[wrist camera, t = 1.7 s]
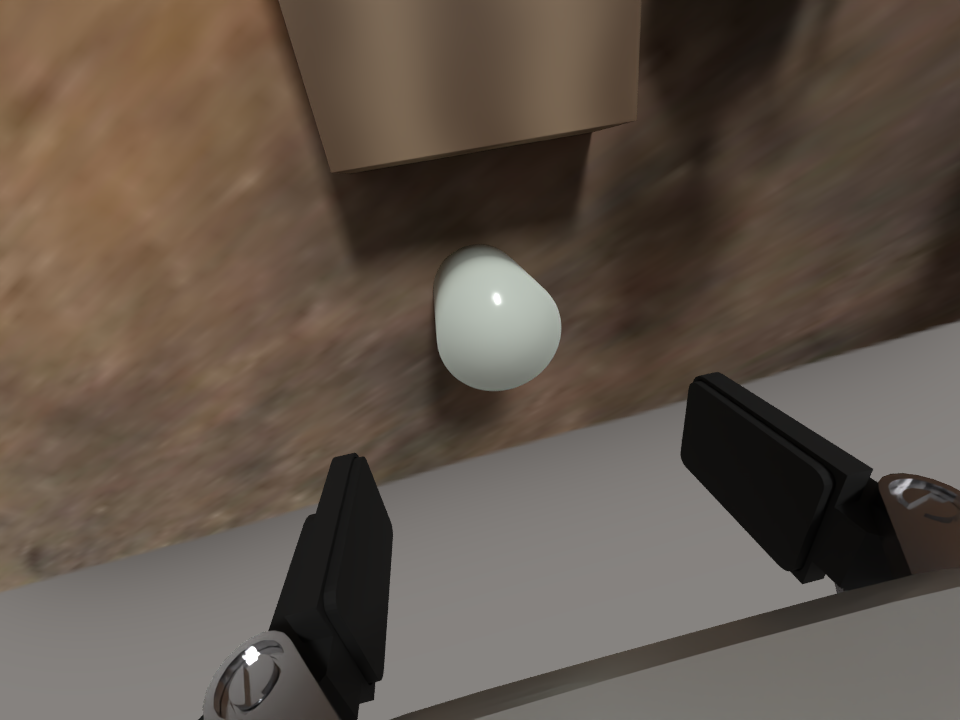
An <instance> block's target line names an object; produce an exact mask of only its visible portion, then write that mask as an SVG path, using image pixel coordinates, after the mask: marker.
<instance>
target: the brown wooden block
mask: <svg viewBox="0 0 960 720" xmlns="http://www.w3.org/2000/svg"><path fill="white" fill-rule="evenodd" d="M278 1H279V4H280V7H281V11H282V14H283V17H284V20H285V24H286V27H287V30H288V33H289V37H290V40H291V43H292V46H293V50H294V53H295V56H296V60H297V63H298V66H299V69H300V73H301V76H302V79H303V82H304V86H305V89H306V92H307V95H308V99H309V102H310V105H311V109H312V112H313V115H314V118H315V122H316V125H317V128H318V131H319V135H320V138H321V141H322V144H323V148H324V151H325V154H326V157H327V161H328V164H329V167H330V171H331V173H348V174H352V173H358V172H364V171H370V170H376V169H381V168H387V167H393V166H399V165H405V164H411V163H416V162H422V161H428V160H434V159H440V158H445V157H451V156H457V155H463V154H469V153H474V152H480V151H486V150H492V149H498V148H504V147H509V146H515V145H521V144H527V143H533V142H538V141H544V140H550V139H556V138H562V137H568V136H573V135H579V134H585V133H591V132H595V131H599V130H602V129H606V128H610V127H614V126H617V125H621V124H625V123H629V122H632V121H636V120H637V100H638V74H639V48H640V22H641V0H278Z"/></svg>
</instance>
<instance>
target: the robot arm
mask: <svg viewBox="0 0 960 720" xmlns="http://www.w3.org/2000/svg"><path fill="white" fill-rule="evenodd" d="M681 459H682V461H683V464H684V465H685V466H686V468H687V469H688V470H689V471H690V472H691V473H692V474H693V475H694V476H695V477H696V478H697V479H698V480H699V481H700V482H701V483H702V485H703V486H704V487H706V489H707V490H708V491H709V492H710V493H711V494H712V495H713V496H714V497H715V498H716V499H717V500H718V501H719V502H720V504H721V505H722V506H723V507H724V508H725V509H726V510H727V511H728V512H729V513H730V514H731V515H732V516H733V517H734V518H735V519H736V520H737V522H738V523H739V524H740V525H741V526H742V527H743V528H744V529H745V530H746V531H747V532H748V533H749V534H750V535H751V537H752V538H754V540H755V541H756V542H757V543H758V544H759V545H760V546H761V547H762V548H763V549H764V550H765V551H766V552H767V553H768V555H769V556H770V557H772V559H773V560H774V561H775V562H776V563H777V564H778V565H779V566H780V567H781V568H783V569H784V570H786V571H790V572H791V573H792V574H793V575H794V576H795V577H796V578H797V579H798V580H799V581H800V582H801V583H802V584H805V583H808V582H812V581H816V580H820V579H823V578H824V576H825V574H826V575H827V576H828V577H829V578H830V579H831V580H832V581H834V582H835V587H836V591H837V594H834V595H830V596H827V597H823V598H819V599H815V600H812V601H808V602H804V603H800V604H797V605H793V606H790V607H786V608H782V609H778V610H774V611H771V612H767V613H763V614H759V615H756V616H752V617H748V618H745V619H741V620H737V621H733V622H730V623H726V624H722V625H719V626H715V627H711V628H708V629H704V630H700V631H697V632H693V633H689V634H686V635H682V636H678V637H675V638H671V639H667V640H664V641H660V642H656V643H653V644H649V645H646V646H642V647H638V648H635V649H631V650H627V651H624V652H620V653H616V654H613V655H609V656H605V657H602V658H598V659H595V660H591V661H588V662H584V663H581V664H577V665H573V666H570V667H566V668H562V669H559V670H555V671H552V672H549V673H545V674H541V675H537V676H534V677H530V678H527V679H523V680H520V681H517V682H512V683H509V684H506V685H502V686H498V687H495V688H491V689H488V690H484V691H481V692H477V693H474V694H471V695H467V696H464V697H461V698H457V699H454V700H451V701H447V702H445V703H441V704H437V705H434V706H431V707H428V708H424V709H421V710H418V711H415V712H411V713H408V714H405V715H402V716H400V717H397V718H394V719H391V720H960V491H959V490H957V489H955V488H953V487H952V486H949V485H947V484H944V483H942V482H939V481H936V480H934V479H930V478H926V477H923V476H919V475H913V474H905V473H898V474H889V475H886V476H884V477H882V478H881V479H880V481H879V482H876V481H874V480H873V479H872V478H870V475H871V473H872V471H873V469H872V468H870V467H869V466H867V465H866V464H864V463H863V462H861V461H859V460H858V459H856V458H855V457H853V456H852V455H850V454H848V453H847V452H845V451H844V450H842V449H840V448H839V447H837V446H836V445H834V444H833V443H831V442H829V441H828V440H826V439H825V438H823V437H821V436H820V435H818V434H817V433H815V432H814V431H812V430H810V429H808V428H807V427H805V426H804V425H802V424H801V423H799V422H798V421H796V420H794V419H793V418H791V417H789V416H788V415H787V414H785V413H783V412H782V411H780V410H779V409H777V408H775V407H774V406H772V405H770V404H769V403H768V402H766V401H764V400H763V399H761V398H760V397H758V396H756V395H755V394H753V393H751V392H750V391H748V390H747V389H745V388H744V387H742V386H741V385H739V384H737V383H736V382H734V381H733V380H731V379H729V378H728V377H726V376H725V375H723V374H721V373H719V372H715V373H710V374H706V375H701V376H697V377H695V379H694V381H693V383H691V384H690V386H689V391H688V398H687V407H686V415H685V422H684V430H683V438H682V446H681ZM392 541H393V530H392V524H391V521H390V519H389V517H388V514H387V511H386V509H385V506H384V503H383V501H382V498H381V496H380V493H379V491H378V488H377V486H376V483H375V480H374V478H373V475H372V473H371V470H370V468H369V465H368V463H367V460H366V458H365V457H358V455H357V454H356V453H352V454H347V455H343V456H338V457H334V458H333V460H332V462H331V465H330V469H329V472H328V475H327V478H326V482H325V485H324V488H323V492H322V495H321V498H320V501H319V505H318V508H317V511H316V514H312V515H309V516H308V517H307V519H306V520H305V523H304V525H303V528H302V531H301V534H300V537H299V540H298V543H297V546H296V549H295V552H294V556H293V558H292V561H291V564H290V567H289V571H288V573H287V577H286V580H285V583H284V586H283V589H282V592H281V595H280V598H279V601H278V604H277V607H276V610H275V613H274V616H273V619H272V622H271V625H270V628H269V631H268V632H262V633H260V634H258V635H256V636H254V637H251V638H249V639H248V640H247V641H245V642H244V643H243V644H241V645H240V646H239V647H237V648H236V649H235V650H234V651H233V652H232V654H230V655H229V656H228V657H227V658H226V659H225V660H224V662H223V663H222V665H221V666H220V668H219V669H218V670H217V672H216V673H215V675H214V676H213V679H212V681H211V683H210V685H209V687H208V689H207V691H206V695H205V699H204V704H203V716H202V717H201V718H200V719H199V720H357V719H358V718H357V717H358V710H359V704H360V703H364V702H368V701H372V700H374V692H375V682H377V681H380V680H382V677H383V671H384V659H385V644H386V643H385V642H386V629H387V615H388V600H389V584H390V571H391V556H392Z"/></svg>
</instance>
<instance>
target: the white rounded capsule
mask: <svg viewBox="0 0 960 720" xmlns="http://www.w3.org/2000/svg"><path fill="white" fill-rule="evenodd" d="M433 296H434V309H435V322H436V336H437V345H438V350H439V354H440V357H441V359H442V361H443V363H444V365H445V366H446V368H447V369H448V370H449V371H450V373H451V374H452V375H453V376H454V377H456V378H457V379H458V380H460V381H461V382H463V383H464V384H466V385H468V386H470V387H473V388H476V389H480V390H486V391H502V390H508V389H512V388H515V387H518V386H521V385H523V384H525V383H527V382H529V381H530V380H532V379H533V378H535V377H536V376H537V375H538V374H540V373H541V372H542V371H543V370H544V369H545V368H546V367H547V365H548V364H549V363H550V361H551V360H552V358H553V356H554V355H555V352H556V350H557V348H558V345H559V341H560V336H561V320H560V315H559V311H558V308H557V306H556V304H555V302H554V300H553V299H552V297H551V296H550V295H549V294H548V292H547V291H546V290H545V289H544V288H543V287H542V286H540V285H539V284H538V283H537V282H536V281H535V280H534V279H533V278H532V277H531V276H530V275H529V274H528V273H527V272H525V271H524V270H523V269H522V268H521V267H520V266H519V265H518V264H517V263H516V262H515V261H514V260H513V259H512V258H510V257H509V256H508V255H507V254H506V253H505V252H503V251H501V250H500V249H498V248H495V247H492V246H489V245H482V244H476V245H469V246H465V247H463V248H460V249H458V250H457V251H455V252H453V253H452V254H451V255H449V256H448V257H447V258H446V259H445V260H444V261H443V263H442V264H441V265H440V267H439V269H438V271H437V273H436V276H435V280H434V285H433Z"/></svg>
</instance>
